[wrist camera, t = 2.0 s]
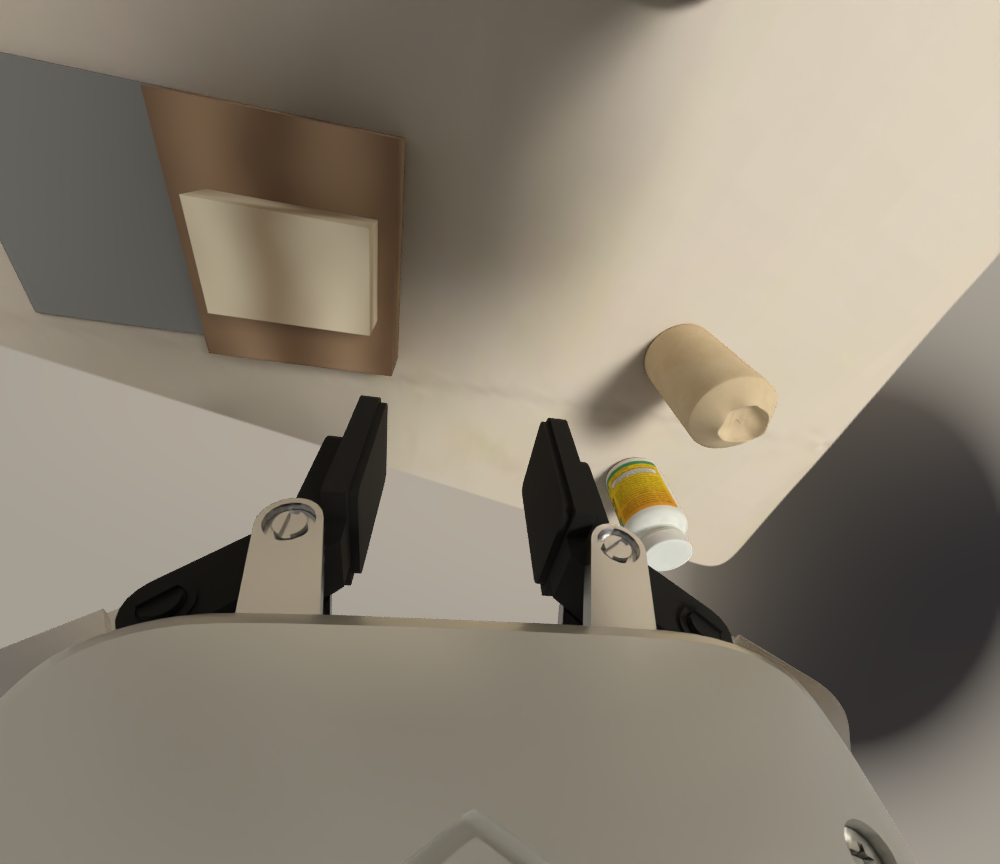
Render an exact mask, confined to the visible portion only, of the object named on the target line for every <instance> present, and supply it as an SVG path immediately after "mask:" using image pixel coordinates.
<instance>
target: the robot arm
mask: <svg viewBox="0 0 1000 864" xmlns="http://www.w3.org/2000/svg"><path fill="white" fill-rule="evenodd" d="M387 410H388V406H387V403H381V398H379V397H371V396H360V398H359V401H358V403H357V405H356V408H355V410H354V412H353V415H352V417H351V419H350V422H349V424H348V426H347V429H346V431H345V433H344V436H343V437H337V436H327V437H326V438H325V440H324V442H323V444H322V446H321V448H320V450H319V452H318V454H317V456H316V458H315V460H314V462H313V465H312V467H311V468H310V471H309V473H308V475H307V477H306V479H305V481H304V483H303V485H302V487H301V489H300V491H299V493H298V495H297V497H296V498H290V499H285V500H280V501H278V502H275V503H273V504H271V505H269V506H268V507H266V508H265V509H263V510H262V511H261V512H260V513H259V515H258V516H257V517H256V520H255V522H254V524H253V529H252V534H251V535H248V536H246V537H244V538H242V539H240V540H238V541H236V542H234V543H231V544H229V545H227V546H225V547H223V548H221V549H219V550H217V551H215V552H213V553H210V554H208V555H206V556H204V557H202V558H200V559H198V560H196V561H194V562H191V563H190V564H187V565H185V566H183V567H181V568H179V569H177V570H175V571H173V572H170V573H169V574H166V575H164V576H162V577H160V578H158V579H156V580H154V581H152V582H150V583H148V584H146V585H145V586H143V587H141V588H140V589H138V590H137V591H135V592H134V593H133V594H132V595H131V596H130V597H128V598H127V599H126V601H125V602H124V603H123V605H122V606H121V607H120V608H119V609H117V610H114V611H111V612H109V613H106V612H105V610H104V609H101V610H99V611H97V612H94V613H91V614H88V615H86V616H83V617H81V618H79V619H76V620H73V621H71V622H68V623H65V624H63V625H60V626H58V627H55V628H53V629H50V630H48V631H45V632H43V633H40V634H38V635H35V636H32V637H30V638H27V639H25V640H22V641H19V642H17V643H14V644H12V645H9V646H7V647H4V648H2V649H0V864H918V863H917V861H916V859H915V858H914V856H913V854H912V853H911V851H910V849H909V847H908V846H907V844H906V842H905V841H904V839H903V837H902V835H901V834H900V832H899V830H898V829H897V828H896V826H895V824H894V822H893V820H892V819H891V817H890V815H889V814H888V812H887V811H886V809H885V807H884V806H883V804H882V802H881V801H880V799H879V797H878V796H877V794H876V793H875V791H874V790H873V788H872V786H871V785H870V783H869V781H868V780H867V778H866V777H865V775H864V773H863V772H862V770H861V768H860V767H859V765H858V764H857V762H856V760H855V759H854V757H853V756H852V754H851V748H850V737H849V725H848V721H847V717H846V715H845V712H844V710H843V709H842V707H841V705H840V704H839V702H838V700H837V699H836V698H835V697H834V696H833V695H832V694H831V693H830V692H829V691H828V690H827V689H826V688H825V687H823V686H822V685H820V684H819V683H818V682H816V681H815V680H813V679H812V678H810V677H808V676H806V675H805V674H803V673H802V672H800V671H798V670H796V669H795V668H793V667H791V666H790V665H788V664H787V663H785V662H783V661H782V660H780V659H778V658H777V657H775V656H773V655H772V654H770V653H768V652H767V651H765V650H763V649H761V648H760V647H758V646H757V645H755V644H753V643H752V642H750V641H748V640H746V639H745V638H743V637H742V636H740V635H738V636H737V637H736V638H734V637H732V636H731V634H730V632H729V630H728V628H727V626H726V625H725V624H724V622H723V621H722V620H721V619H720V617H719V616H717V615H716V614H715V613H714V612H713V611H712V610H710V609H709V608H707V607H706V606H705V605H703V604H702V603H700V602H699V601H698V600H696V599H695V598H693V597H692V596H691V595H689V594H688V593H687V592H685V591H684V590H682V589H681V588H679V587H678V586H677V585H675V584H674V583H673V582H671V581H670V580H668V579H667V578H666V577H664V576H663V575H661V574H660V573H658V572H657V571H656V570H654V569H653V568H652V567H650V566H649V565H648V562H647V555H646V550H645V547H644V545H643V543H642V542H641V540H640V539H639V538H638V537H637V536H636V535H635V534H634V533H633V532H631V531H630V530H628V529H627V528H625V527H622V526H620V525H617V524H610V523H609V521H608V518H607V515H606V512H605V510H604V507H603V504H602V501H601V498H600V495H599V493H598V490H597V487H596V484H595V481H594V478H593V476H592V473H591V470H590V467H589V465H588V464H587V463H585V462H580V459H579V456H578V453H577V450H576V447H575V444H574V441H573V438H572V435H571V432H570V429H569V426H568V423H567V421H566V420H562V419H554V418H548V419H547V421H546V422H541V423H540V426H539V430H538V433H537V437H536V440H535V444H534V447H533V451H532V454H531V458H530V461H529V465H528V468H527V472H526V475H525V478H524V482H523V487H522V496H523V503H524V511H525V518H526V524H527V532H528V539H529V547H530V553H531V561H532V568H533V575H534V580H535V583H537V584H540V585H541V591H542V595H543V596H544V595H545V596H553V598H554V599H556V600H557V601H558V602H559V603H560V605H559V614H558V624H540V623H519V622H495V621H473V620H448V619H425V618H424V619H423V618H400V617H399V618H398V617H371V616H346V615H331V614H332V594H333V593H335V592H336V591H338V590H339V589H340V588H342V587H344V585H351V584H352V580H353V576H354V573H361V572H362V570H363V566H364V562H365V558H366V554H367V550H368V546H369V542H370V538H371V534H372V530H373V526H374V522H375V518H376V514H377V510H378V507H379V503H380V499H381V495H382V491H383V486H384V483H385V477H386V457H387Z"/></svg>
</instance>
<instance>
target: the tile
mask: <svg viewBox="0 0 1000 864" xmlns="http://www.w3.org/2000/svg"><path fill="white" fill-rule="evenodd" d="M179 196H180V200H181V204H182V208H183V212H184V217H185V221H186V225H187V229H188V233H189V237H190V241H191V245H192V249H193V254H194V258H195V262H196V266H197V270H198V274H199V278H200V282H201V286H202V291H203V295H204V299H205V303H206V307H207V311H208V313H211V314H218V315H225V316H232V317H239V318H246V319H253V320H260V321H268V322H275V323H282V324H289V325H296V326H303V327H310V328H317V329H324V330H331V331H338V332H346V333H353V334H360V335H367V336H370V334H371V332H372V330H373V328H374V326H375V324H376V322H377V287H378V220H374V219H369V218H363V217H358V216H352V215H347V214H341V213H336V212H330V211H325V210H319V209H314V208H308V207H303V206H297V205H292V204H286V203H281V202H275V201H270V200H265V199H259V198H254V197H248V196H243V195H237V194H232V193H226V192H221V191H215V190H210V189H203V190H198V191H193V192H188V193H183V194H179Z"/></svg>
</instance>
